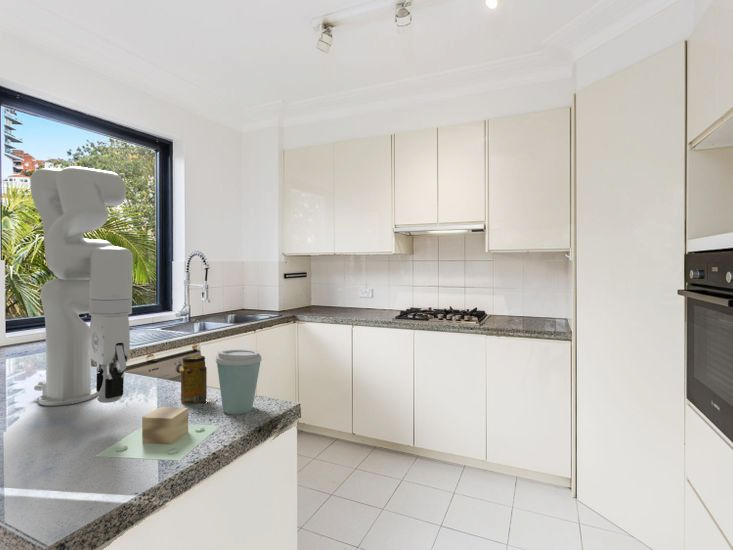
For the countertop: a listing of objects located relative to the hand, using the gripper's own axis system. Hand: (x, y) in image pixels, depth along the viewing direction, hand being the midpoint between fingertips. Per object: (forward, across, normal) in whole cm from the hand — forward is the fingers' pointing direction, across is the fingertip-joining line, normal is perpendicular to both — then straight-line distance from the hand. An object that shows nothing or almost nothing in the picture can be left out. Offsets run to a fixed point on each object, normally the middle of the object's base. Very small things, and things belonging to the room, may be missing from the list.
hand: (109, 392), depth 85 cm
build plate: (+8, +14, +5) cm, 17 cm away
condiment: (+9, -3, +21) cm, 23 cm away
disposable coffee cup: (+8, +10, +24) cm, 28 cm away
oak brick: (+7, +14, +6) cm, 16 cm away
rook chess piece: (+2, 0, 0) cm, 2 cm away
